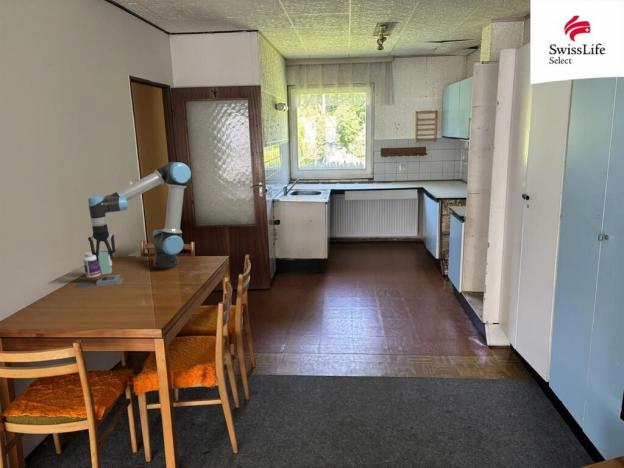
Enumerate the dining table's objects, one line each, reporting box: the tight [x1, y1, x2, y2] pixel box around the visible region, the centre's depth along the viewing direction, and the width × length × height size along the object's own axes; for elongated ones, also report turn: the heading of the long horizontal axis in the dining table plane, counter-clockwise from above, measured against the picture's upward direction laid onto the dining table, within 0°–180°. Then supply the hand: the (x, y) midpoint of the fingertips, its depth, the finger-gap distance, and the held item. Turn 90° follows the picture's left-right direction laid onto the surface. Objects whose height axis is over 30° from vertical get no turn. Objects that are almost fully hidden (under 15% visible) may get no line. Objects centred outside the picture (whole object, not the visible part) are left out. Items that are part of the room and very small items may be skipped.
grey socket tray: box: [93, 274, 124, 288], centre depth 262 cm, size 14×11×3 cm
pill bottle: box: [82, 251, 102, 278], centre depth 276 cm, size 8×8×14 cm
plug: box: [99, 250, 113, 275], centre depth 259 cm, size 4×4×12 cm
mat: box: [73, 280, 96, 289], centre depth 261 cm, size 9×9×1 cm
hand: (106, 265), depth 260 cm, fingers closed on plug, 4 cm apart
